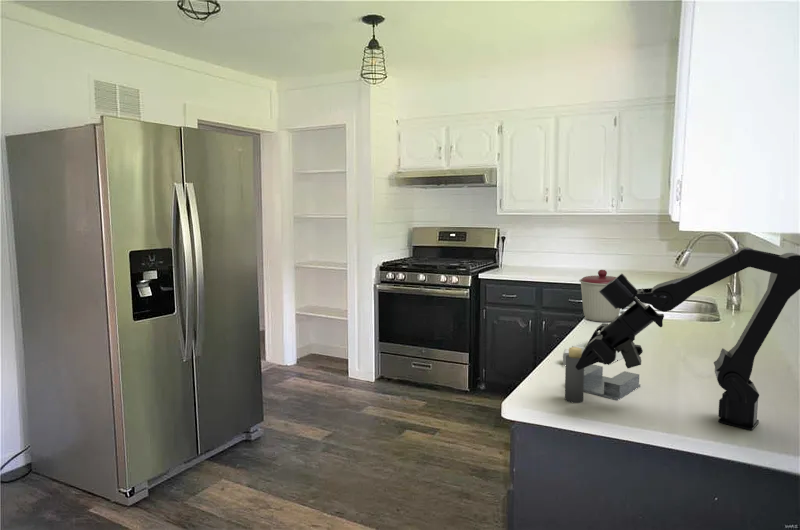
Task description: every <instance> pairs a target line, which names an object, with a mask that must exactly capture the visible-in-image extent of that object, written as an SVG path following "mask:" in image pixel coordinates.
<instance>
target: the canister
mask: <svg viewBox="0 0 800 530" xmlns="http://www.w3.org/2000/svg"><path fill="white" fill-rule="evenodd" d="M607 274H608V272H607V270H606V269H600V270H598V272H597V275H586V276H584V277H582V278H580V279H579V283H580V287H581V288H580V290H581V300H582V301H581V302H582V310H583V316H584V317H585V318H586V319H587V320H589V321H593V322H598V323H599V322H600V323H611V322H612V321H613V320H614V319H615V318H616V317H617V316H620V312H621V309H619V308H617V309H615V308H614V307H613V306H612V305H611V304H610V303H609V302H608V301H607V300H606V299H605V298H604V296H603V295H602V294H601V293H600V292H599V291H600V290H601V289H602V288H603V287H604V286H605V285H606V284H608V283H609V282H610V281H613V280H614V279H615V278H616V277H617V276H612V275H607Z"/></svg>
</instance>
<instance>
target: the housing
mask: <svg viewBox="0 0 800 530" xmlns="http://www.w3.org/2000/svg"><path fill="white" fill-rule="evenodd" d="M603 370H604V367H603V366H601V365H597V364H592V365H590V366H587V367H585V368H584V391H583V393H587V392H588V393H587V394H592V395H595V394H596V395H595V396H600V397H603V398H607V399H610V398H612V399H611V400H614V399H615V401H619V400H621V399H623V398H624V397H626V396H628V395H629V394H631V393H632V392H634V391H635V389H636V388H637V389H639V388H641V384H640V374H639V373H634V372H629V371H625V370H624V371H622V372H620V373H618V374H616V375H614V376H613V377H609V376H604V375H603V374H604V373H603V372H604V371H603ZM638 387H639V388H638ZM637 389H636V390H637ZM633 390H634V391H633ZM630 392H631V393H630ZM625 395H626V396H625ZM620 398H621V399H620ZM618 399H619V400H618Z"/></svg>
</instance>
